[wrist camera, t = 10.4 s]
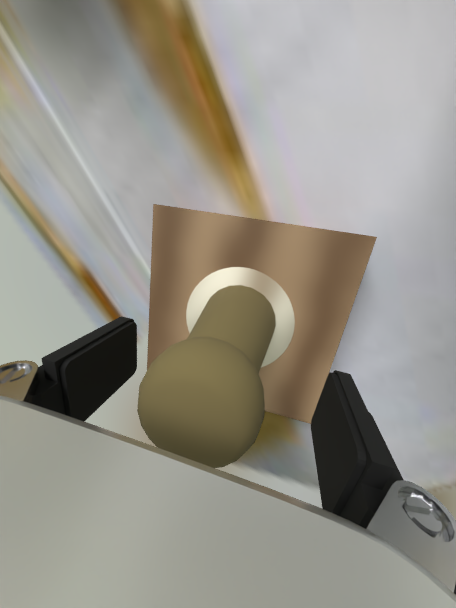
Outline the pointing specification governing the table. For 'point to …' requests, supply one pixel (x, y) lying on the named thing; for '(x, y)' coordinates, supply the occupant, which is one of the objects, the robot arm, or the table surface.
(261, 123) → the table surface
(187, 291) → the base
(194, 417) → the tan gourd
